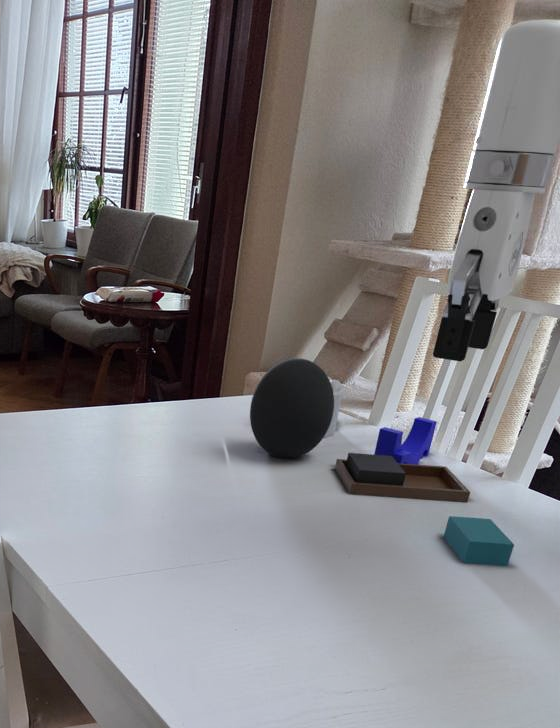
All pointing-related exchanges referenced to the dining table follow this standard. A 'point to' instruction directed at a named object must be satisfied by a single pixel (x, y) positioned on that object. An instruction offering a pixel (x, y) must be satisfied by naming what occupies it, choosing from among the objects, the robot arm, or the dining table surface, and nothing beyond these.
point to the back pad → (375, 469)
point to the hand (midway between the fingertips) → (460, 352)
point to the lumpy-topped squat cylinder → (335, 405)
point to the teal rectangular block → (478, 541)
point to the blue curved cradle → (407, 442)
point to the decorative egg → (292, 408)
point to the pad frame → (411, 484)
